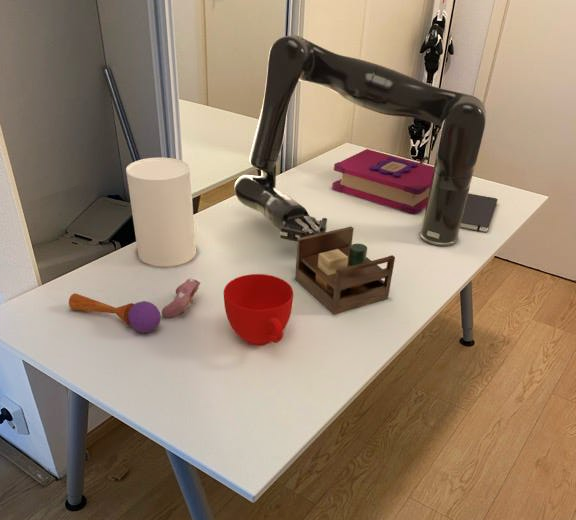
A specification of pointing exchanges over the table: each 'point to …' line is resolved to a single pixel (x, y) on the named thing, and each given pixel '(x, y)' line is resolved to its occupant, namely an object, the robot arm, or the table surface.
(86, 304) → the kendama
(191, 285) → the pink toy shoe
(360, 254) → the rack
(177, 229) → the canister
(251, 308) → the ceramic cup
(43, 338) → the table surface
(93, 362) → the table surface
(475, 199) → the notebook
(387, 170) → the book
